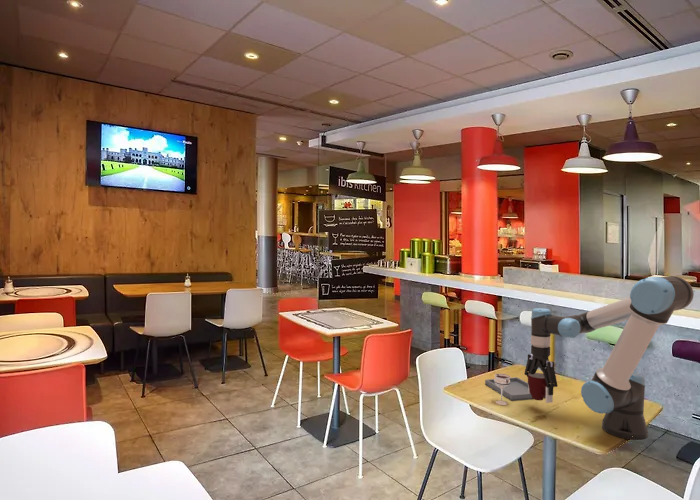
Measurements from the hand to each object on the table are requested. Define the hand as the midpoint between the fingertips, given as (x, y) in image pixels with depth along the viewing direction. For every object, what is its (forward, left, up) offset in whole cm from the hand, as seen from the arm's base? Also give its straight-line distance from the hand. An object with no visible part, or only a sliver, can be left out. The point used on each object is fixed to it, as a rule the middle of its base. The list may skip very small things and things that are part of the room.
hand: (539, 397), depth 191 cm
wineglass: (+13, +10, -6) cm, 17 cm away
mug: (0, 0, -1) cm, 1 cm away
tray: (+24, -5, -6) cm, 26 cm away
